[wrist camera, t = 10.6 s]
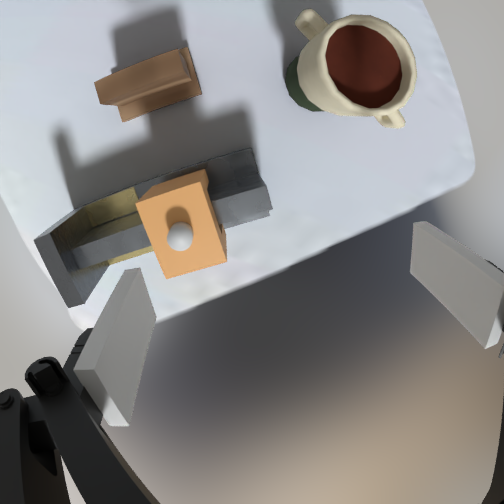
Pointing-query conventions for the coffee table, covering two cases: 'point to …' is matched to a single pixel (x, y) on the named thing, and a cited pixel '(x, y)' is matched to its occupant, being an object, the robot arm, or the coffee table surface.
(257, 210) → the rail
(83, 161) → the coffee table surface
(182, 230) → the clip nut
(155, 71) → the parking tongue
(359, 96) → the character mug
